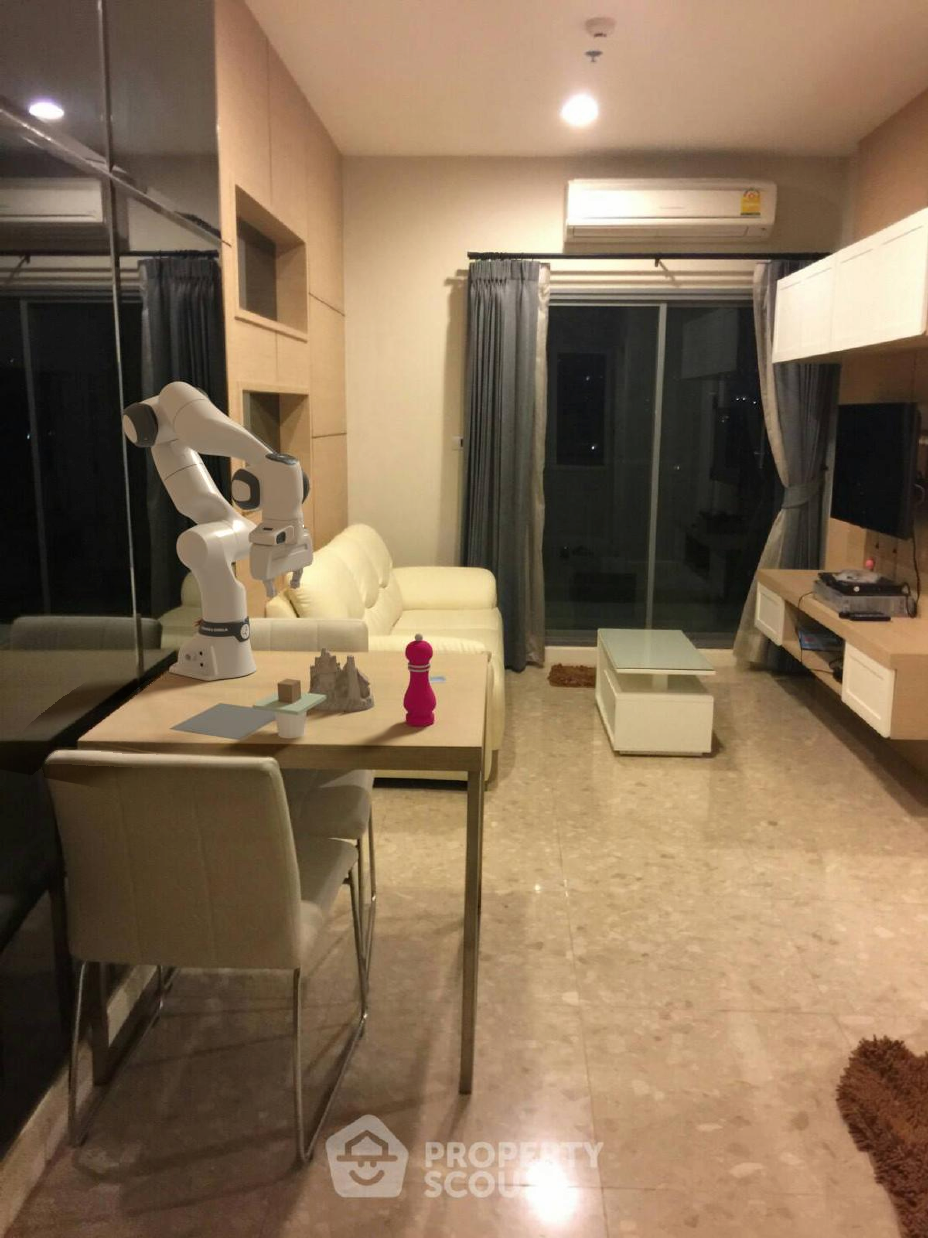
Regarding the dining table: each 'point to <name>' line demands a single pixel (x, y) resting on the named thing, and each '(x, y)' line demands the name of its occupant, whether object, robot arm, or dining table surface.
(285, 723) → the white cup
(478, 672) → the dining table surface
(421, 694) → the pepper mill
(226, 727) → the mat
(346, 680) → the ceramic cottage
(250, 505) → the robot arm
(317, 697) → the lid
